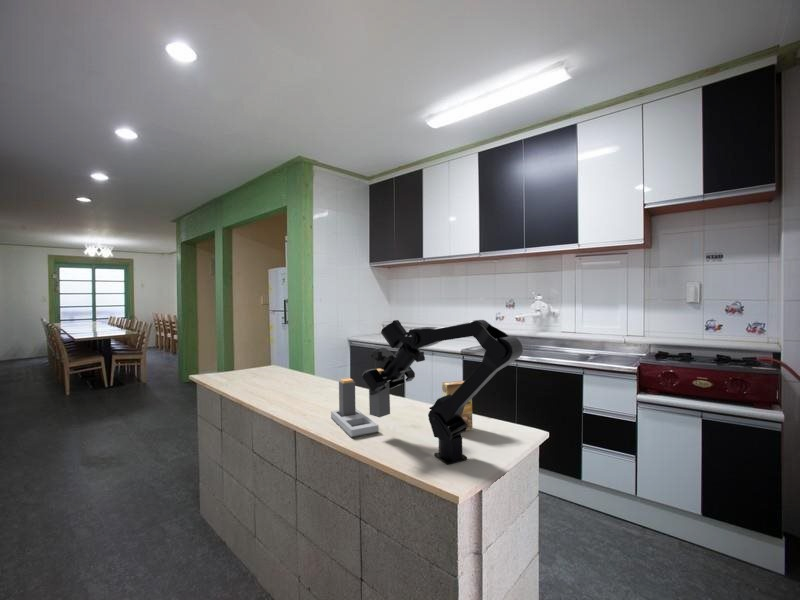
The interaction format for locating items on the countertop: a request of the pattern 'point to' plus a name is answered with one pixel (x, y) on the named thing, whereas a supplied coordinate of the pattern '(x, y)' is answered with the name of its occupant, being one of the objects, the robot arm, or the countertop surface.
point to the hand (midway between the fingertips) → (376, 392)
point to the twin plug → (347, 397)
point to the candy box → (467, 411)
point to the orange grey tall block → (380, 401)
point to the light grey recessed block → (355, 424)
